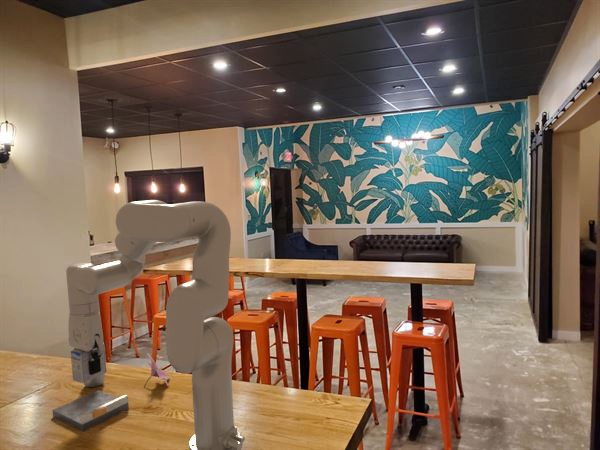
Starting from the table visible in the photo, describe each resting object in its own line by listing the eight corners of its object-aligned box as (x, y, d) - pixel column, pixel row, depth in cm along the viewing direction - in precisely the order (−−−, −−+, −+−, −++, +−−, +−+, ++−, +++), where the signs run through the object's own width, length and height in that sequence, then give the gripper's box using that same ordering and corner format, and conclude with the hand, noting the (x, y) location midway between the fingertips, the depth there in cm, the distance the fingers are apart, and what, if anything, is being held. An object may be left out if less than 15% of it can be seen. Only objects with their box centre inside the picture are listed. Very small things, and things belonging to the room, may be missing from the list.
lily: (157, 399, 141) (171, 369, 143) (124, 383, 143) (138, 353, 145) (171, 393, 153) (183, 366, 155) (140, 378, 155) (153, 351, 156)
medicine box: (96, 370, 135) (94, 341, 135) (107, 372, 133) (104, 343, 132) (72, 380, 129) (69, 350, 128) (83, 383, 126) (80, 353, 126)
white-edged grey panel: (129, 409, 134) (128, 395, 134) (83, 432, 122) (82, 417, 122) (98, 396, 143) (97, 383, 142) (53, 416, 131) (51, 403, 131)
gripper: (54, 307, 130) (60, 369, 132) (89, 315, 121) (94, 382, 123) (80, 300, 137) (84, 360, 139) (114, 308, 127) (119, 372, 129)
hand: (89, 370), depth 131 cm, fingers closed on medicine box, 4 cm apart
